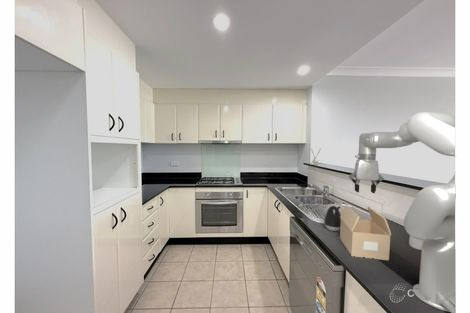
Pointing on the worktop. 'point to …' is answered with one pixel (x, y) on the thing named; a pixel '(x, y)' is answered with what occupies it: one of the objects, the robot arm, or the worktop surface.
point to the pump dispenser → (333, 219)
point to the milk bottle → (415, 243)
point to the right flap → (379, 220)
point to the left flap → (349, 218)
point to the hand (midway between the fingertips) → (364, 192)
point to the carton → (366, 240)
